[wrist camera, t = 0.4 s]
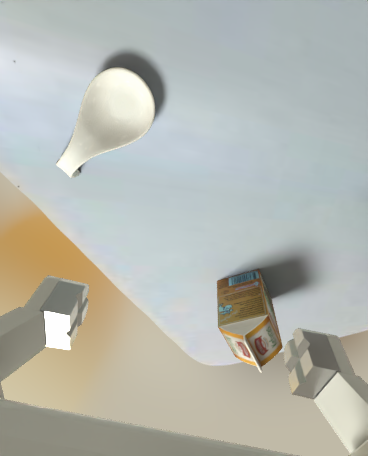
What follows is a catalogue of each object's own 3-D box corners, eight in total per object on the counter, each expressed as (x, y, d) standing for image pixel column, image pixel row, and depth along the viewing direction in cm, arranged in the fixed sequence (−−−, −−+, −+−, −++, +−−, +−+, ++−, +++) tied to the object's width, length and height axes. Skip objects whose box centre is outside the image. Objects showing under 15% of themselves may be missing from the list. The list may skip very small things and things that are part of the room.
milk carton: (271, 299, 75) (287, 368, 59) (231, 309, 78) (237, 377, 62) (258, 268, 70) (272, 335, 54) (217, 280, 73) (218, 347, 57)
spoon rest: (120, 49, 49) (107, 50, 43) (171, 105, 52) (166, 112, 46) (46, 147, 59) (27, 158, 52) (94, 187, 62) (81, 202, 56)
